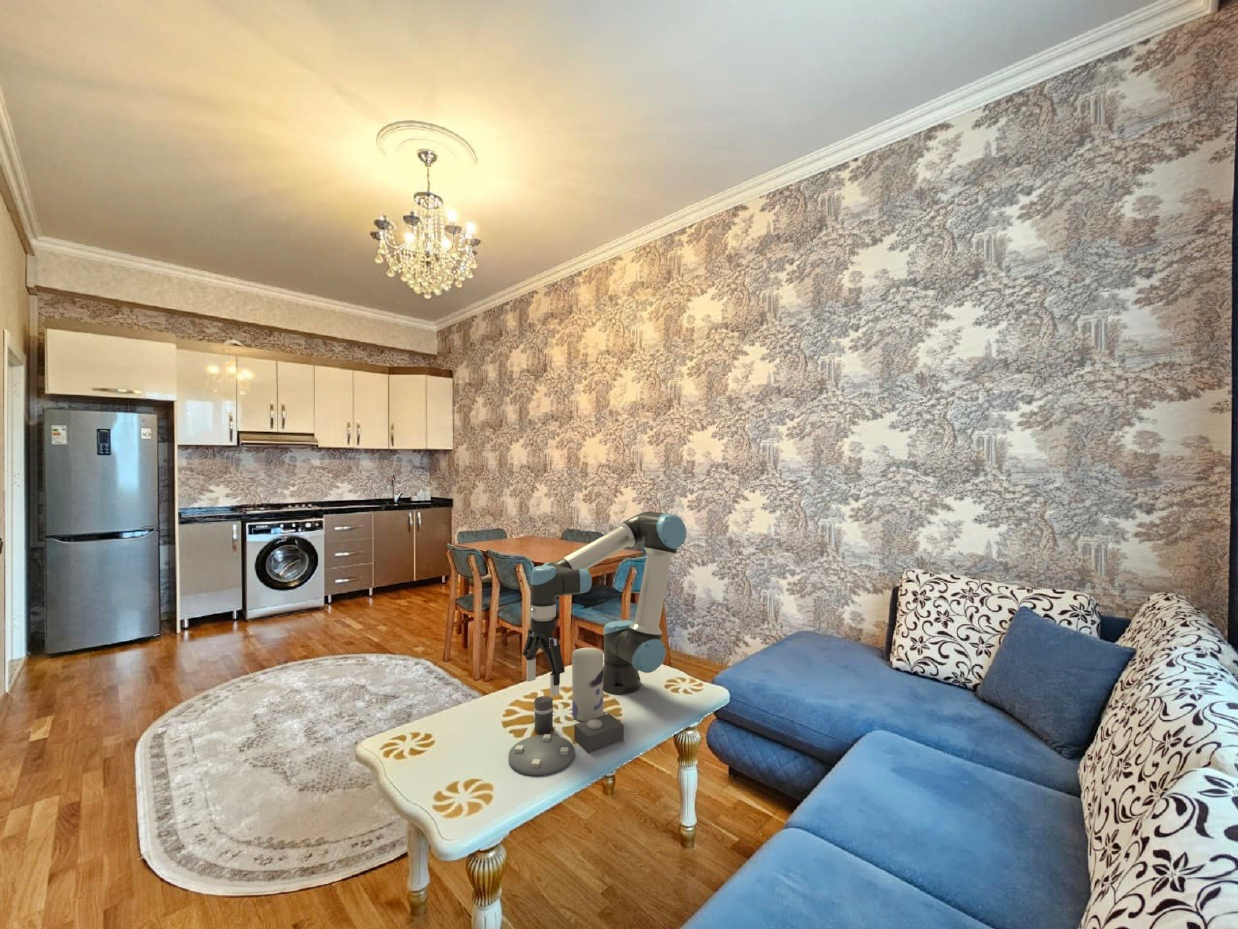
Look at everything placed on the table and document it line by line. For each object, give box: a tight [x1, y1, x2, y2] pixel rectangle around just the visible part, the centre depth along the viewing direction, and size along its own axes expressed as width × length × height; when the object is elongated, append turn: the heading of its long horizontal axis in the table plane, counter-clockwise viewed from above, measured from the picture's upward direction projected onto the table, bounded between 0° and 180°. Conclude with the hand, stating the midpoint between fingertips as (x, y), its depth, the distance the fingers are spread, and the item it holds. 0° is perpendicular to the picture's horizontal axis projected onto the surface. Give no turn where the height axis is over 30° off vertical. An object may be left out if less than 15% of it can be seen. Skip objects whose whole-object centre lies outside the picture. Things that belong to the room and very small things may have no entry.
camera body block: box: [573, 713, 625, 754], centre depth 148 cm, size 12×8×6 cm, turn 123°
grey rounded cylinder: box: [533, 695, 554, 735], centre depth 155 cm, size 6×6×9 cm
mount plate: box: [508, 733, 575, 777], centre depth 140 cm, size 18×18×2 cm
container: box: [571, 647, 604, 722], centre depth 164 cm, size 10×10×20 cm
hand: (542, 687), depth 155 cm, fingers open, 13 cm apart
